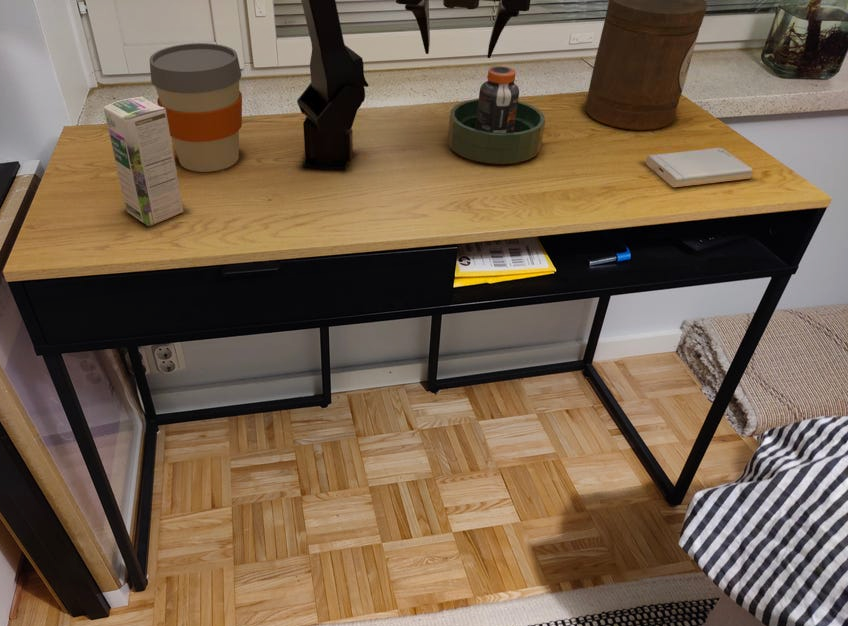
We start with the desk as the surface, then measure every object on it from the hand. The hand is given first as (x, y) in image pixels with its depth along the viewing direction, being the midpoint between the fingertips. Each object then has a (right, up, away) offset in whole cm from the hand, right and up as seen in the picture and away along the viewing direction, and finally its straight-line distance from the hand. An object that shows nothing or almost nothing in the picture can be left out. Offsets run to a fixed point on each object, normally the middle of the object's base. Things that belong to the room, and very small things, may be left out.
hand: (457, 55), depth 106 cm
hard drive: (+36, -18, 0) cm, 40 cm away
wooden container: (+32, -3, +16) cm, 36 cm away
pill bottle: (+6, -12, +6) cm, 14 cm away
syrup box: (-42, -26, -10) cm, 50 cm away
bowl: (+6, -12, +6) cm, 15 cm away
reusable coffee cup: (-38, -15, +2) cm, 41 cm away
